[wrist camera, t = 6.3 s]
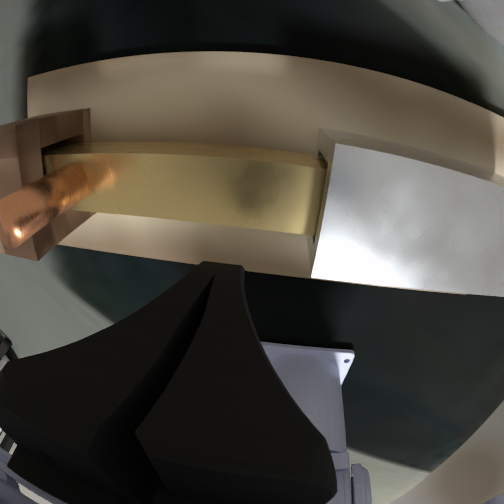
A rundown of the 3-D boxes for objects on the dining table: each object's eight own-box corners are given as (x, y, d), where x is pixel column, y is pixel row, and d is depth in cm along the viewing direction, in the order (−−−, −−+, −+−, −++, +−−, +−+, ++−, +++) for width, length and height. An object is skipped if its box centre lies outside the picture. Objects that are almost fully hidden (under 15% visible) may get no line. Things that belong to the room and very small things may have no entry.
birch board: (463, 290, 19) (466, 294, 19) (48, 238, 21) (44, 242, 20) (514, 124, 13) (520, 126, 12) (33, 77, 15) (27, 77, 14)
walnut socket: (97, 212, 19) (37, 261, 13) (46, 208, 19) (-13, 249, 13) (90, 108, 15) (15, 125, 10) (36, 115, 16) (-34, 137, 10)
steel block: (471, 249, 17) (511, 297, 12) (305, 223, 18) (311, 277, 13) (495, 172, 14) (549, 204, 9) (319, 127, 15) (335, 143, 10)
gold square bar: (358, 218, 16) (404, 316, 9) (51, 189, 17) (-36, 246, 10) (369, 164, 14) (437, 231, 7) (46, 145, 15) (-50, 189, 8)
